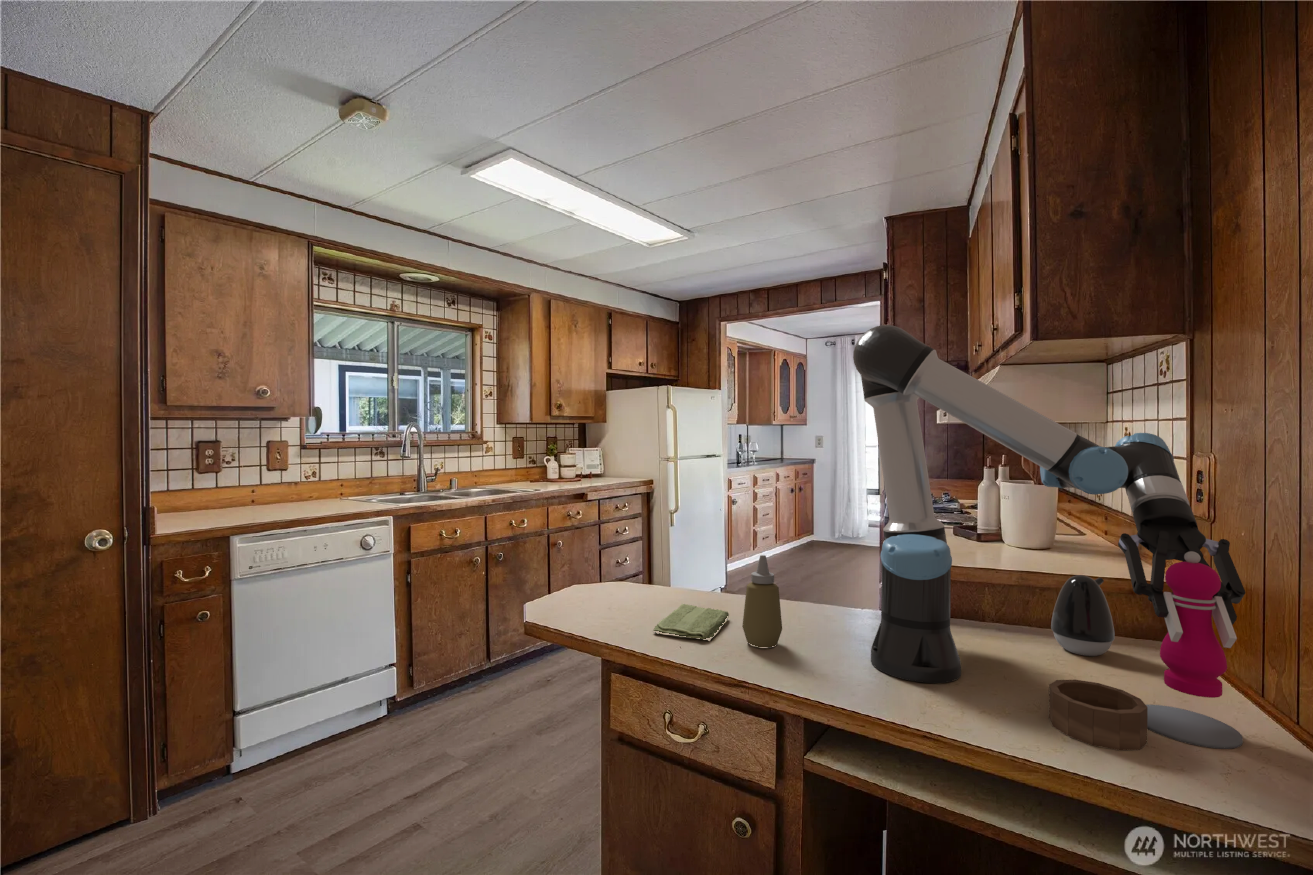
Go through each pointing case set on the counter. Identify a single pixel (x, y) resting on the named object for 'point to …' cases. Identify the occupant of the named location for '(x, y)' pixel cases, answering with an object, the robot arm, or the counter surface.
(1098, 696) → the brown wooden bowl
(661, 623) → the washcloth
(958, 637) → the counter surface
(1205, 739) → the coaster
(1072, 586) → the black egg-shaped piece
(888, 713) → the counter surface
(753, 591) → the squeeze bottle
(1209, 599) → the pepper mill
